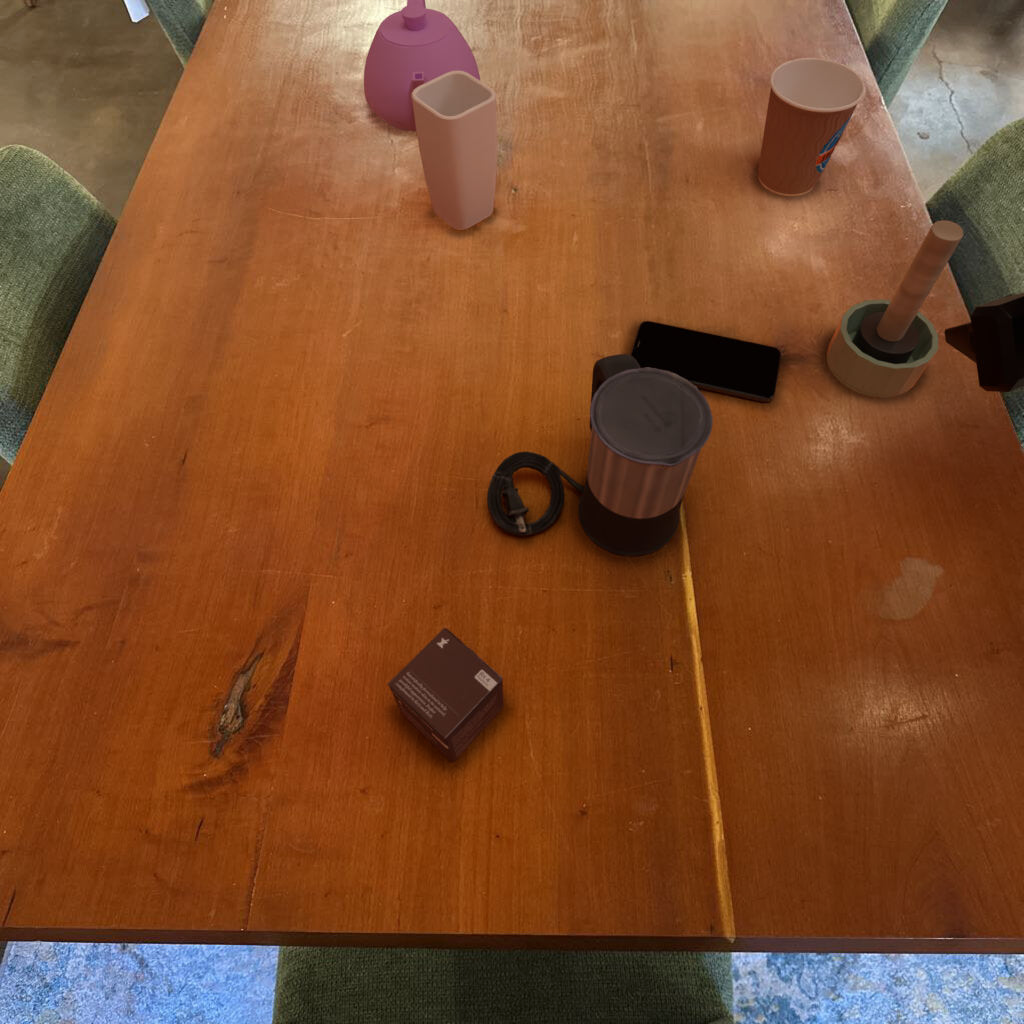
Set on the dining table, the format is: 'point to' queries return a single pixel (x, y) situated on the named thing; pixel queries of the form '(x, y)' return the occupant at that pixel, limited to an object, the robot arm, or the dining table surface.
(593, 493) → the milk frother
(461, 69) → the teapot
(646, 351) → the smartphone
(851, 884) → the dining table surface
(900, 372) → the pale green bowl
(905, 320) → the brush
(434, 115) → the cup
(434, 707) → the box
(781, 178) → the coffee cup
